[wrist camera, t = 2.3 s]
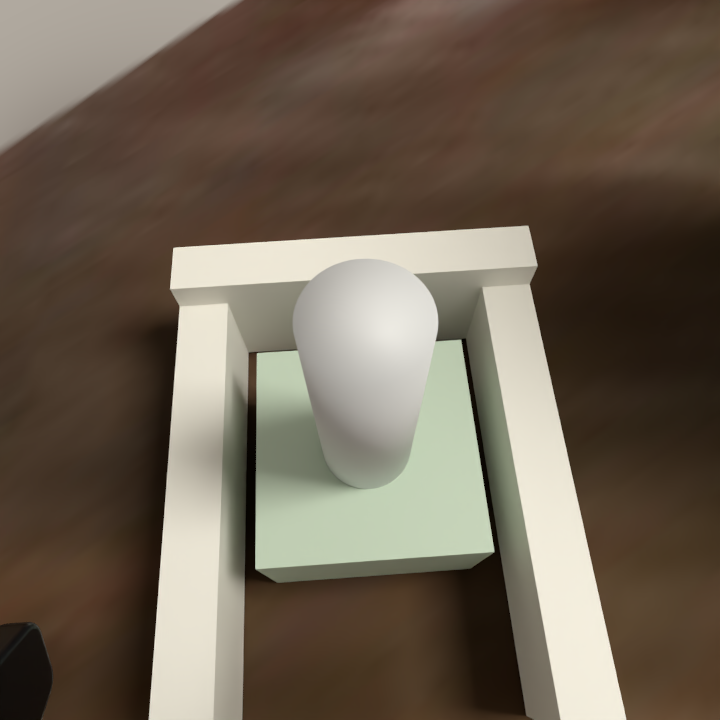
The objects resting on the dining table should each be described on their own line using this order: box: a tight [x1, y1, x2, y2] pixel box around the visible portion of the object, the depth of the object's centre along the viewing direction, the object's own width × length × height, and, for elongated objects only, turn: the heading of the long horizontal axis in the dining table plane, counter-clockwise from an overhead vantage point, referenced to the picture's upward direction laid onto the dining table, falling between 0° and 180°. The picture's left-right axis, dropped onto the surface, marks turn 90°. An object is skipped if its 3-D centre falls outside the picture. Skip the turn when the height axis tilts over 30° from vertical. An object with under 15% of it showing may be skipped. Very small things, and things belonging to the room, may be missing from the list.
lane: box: [149, 226, 626, 720], centre depth 17 cm, size 14×11×4 cm
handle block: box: [255, 259, 494, 583], centre depth 15 cm, size 6×6×11 cm
